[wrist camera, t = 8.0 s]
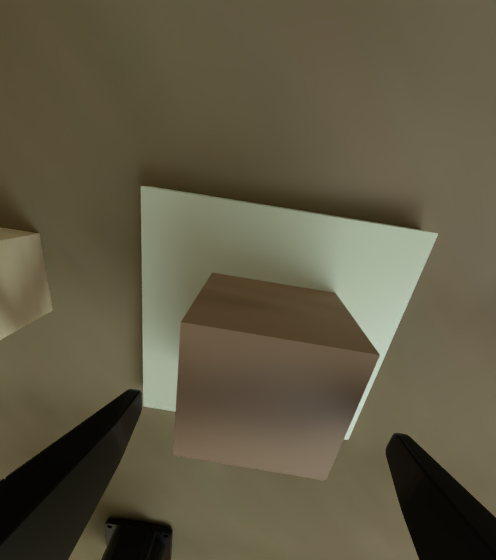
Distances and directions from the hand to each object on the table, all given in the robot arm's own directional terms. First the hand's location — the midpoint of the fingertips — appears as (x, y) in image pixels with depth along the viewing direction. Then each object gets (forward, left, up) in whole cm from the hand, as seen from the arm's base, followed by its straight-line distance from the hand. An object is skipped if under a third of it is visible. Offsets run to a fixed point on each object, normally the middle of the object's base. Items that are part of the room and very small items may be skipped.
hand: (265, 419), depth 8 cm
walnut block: (0, 0, -5) cm, 5 cm away
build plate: (0, 0, -7) cm, 7 cm away
